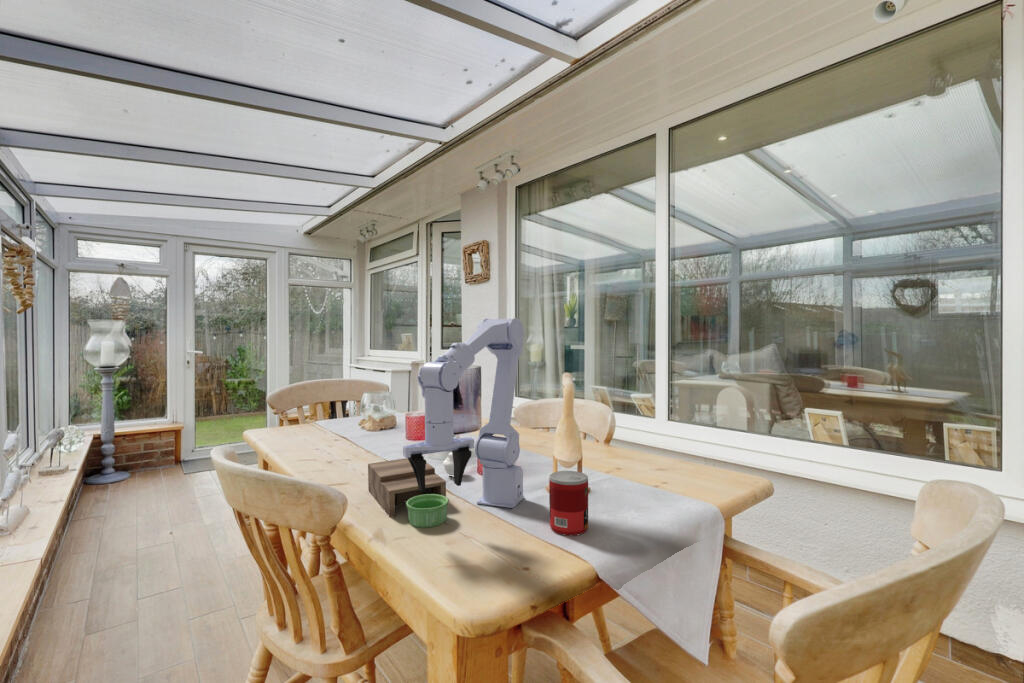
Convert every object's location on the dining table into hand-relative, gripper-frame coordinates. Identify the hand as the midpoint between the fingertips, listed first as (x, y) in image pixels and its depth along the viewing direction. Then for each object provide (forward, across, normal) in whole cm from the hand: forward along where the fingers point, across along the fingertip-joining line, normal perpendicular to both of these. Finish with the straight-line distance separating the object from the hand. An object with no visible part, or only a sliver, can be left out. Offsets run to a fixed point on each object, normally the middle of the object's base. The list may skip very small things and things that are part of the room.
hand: (440, 487), depth 97 cm
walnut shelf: (+9, 0, -24) cm, 26 cm away
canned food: (+10, -24, +11) cm, 28 cm away
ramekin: (+10, 0, -8) cm, 13 cm away
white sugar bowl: (+10, -17, -34) cm, 39 cm away
